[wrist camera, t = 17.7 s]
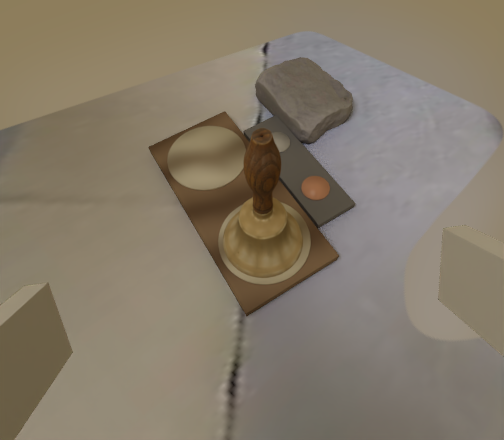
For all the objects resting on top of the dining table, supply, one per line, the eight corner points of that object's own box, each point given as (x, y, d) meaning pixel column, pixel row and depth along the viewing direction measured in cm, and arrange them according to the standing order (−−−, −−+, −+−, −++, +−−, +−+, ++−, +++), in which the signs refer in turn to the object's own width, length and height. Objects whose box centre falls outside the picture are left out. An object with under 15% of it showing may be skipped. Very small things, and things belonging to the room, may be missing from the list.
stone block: (301, 80, 49) (247, 97, 45) (310, 49, 45) (252, 65, 41) (353, 129, 45) (299, 153, 41) (369, 101, 41) (310, 124, 37)
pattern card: (244, 135, 42) (243, 129, 41) (276, 119, 43) (276, 113, 42) (317, 228, 36) (319, 224, 35) (353, 207, 37) (355, 202, 36)
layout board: (151, 153, 42) (147, 145, 40) (226, 118, 44) (224, 109, 42) (246, 316, 32) (245, 313, 30) (336, 259, 34) (339, 254, 32)
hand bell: (315, 224, 34) (349, 109, 20) (280, 293, 31) (291, 214, 17) (247, 194, 36) (234, 70, 22) (208, 255, 33) (163, 156, 19)
